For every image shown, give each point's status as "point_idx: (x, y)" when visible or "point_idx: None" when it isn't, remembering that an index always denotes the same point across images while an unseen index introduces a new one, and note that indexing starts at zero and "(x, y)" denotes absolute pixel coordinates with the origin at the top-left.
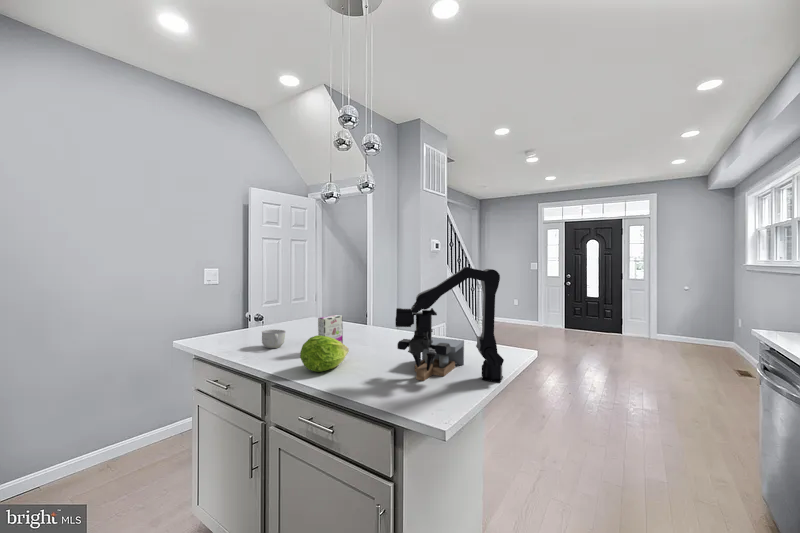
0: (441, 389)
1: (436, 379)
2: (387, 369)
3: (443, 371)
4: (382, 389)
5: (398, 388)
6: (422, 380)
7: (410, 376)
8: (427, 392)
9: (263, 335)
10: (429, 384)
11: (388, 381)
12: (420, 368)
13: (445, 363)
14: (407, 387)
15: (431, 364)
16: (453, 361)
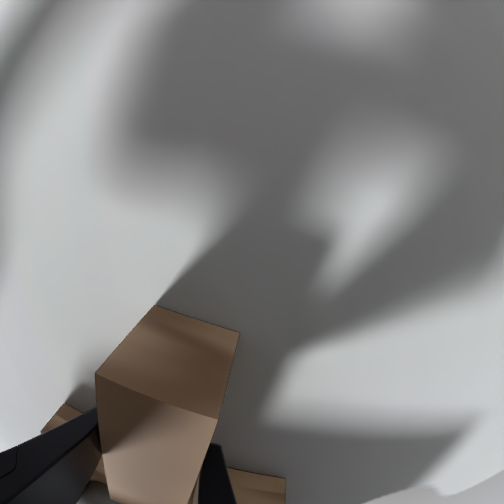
0: (10, 130)
1: (77, 350)
2: (464, 452)
3: (50, 425)
4: (484, 23)
5: (379, 31)
6: (170, 311)
7: (312, 398)
8: (93, 20)
9: None
10: (88, 215)
11: (499, 220)
12: (160, 418)
13: (83, 501)
14: (295, 64)
15: (112, 493)
16: None
